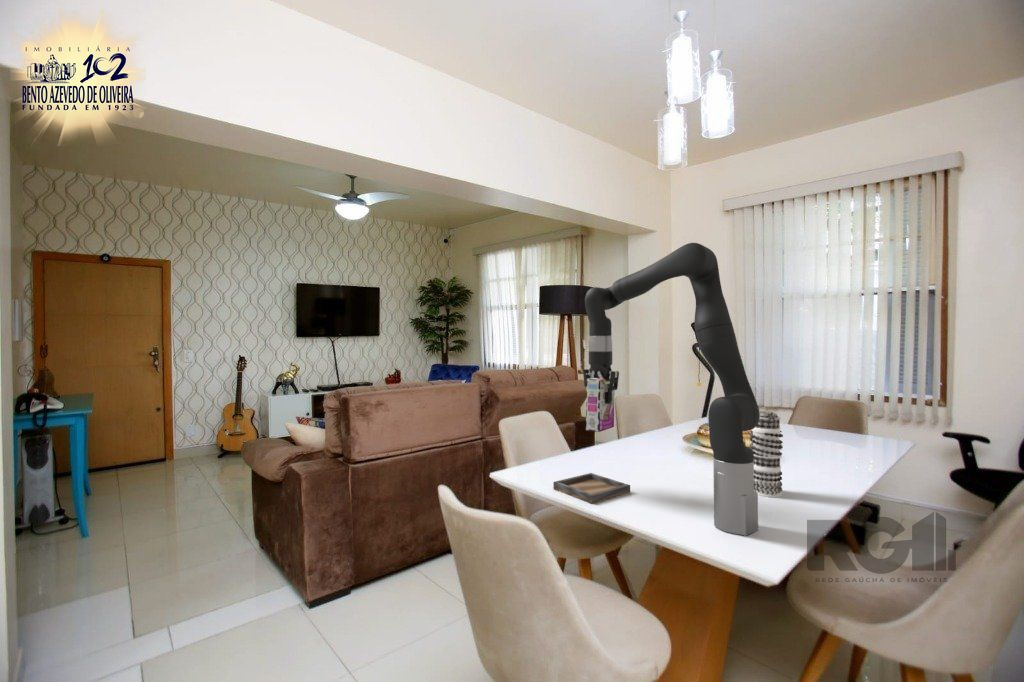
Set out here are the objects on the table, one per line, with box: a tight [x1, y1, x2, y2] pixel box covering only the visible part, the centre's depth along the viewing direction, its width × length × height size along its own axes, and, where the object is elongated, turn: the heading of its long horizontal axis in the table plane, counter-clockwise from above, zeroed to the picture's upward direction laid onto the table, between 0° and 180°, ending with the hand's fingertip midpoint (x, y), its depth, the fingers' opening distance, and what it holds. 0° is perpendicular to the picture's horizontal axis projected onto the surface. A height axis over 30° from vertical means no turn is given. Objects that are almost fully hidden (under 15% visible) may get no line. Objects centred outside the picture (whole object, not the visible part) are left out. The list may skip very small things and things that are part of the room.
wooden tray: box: [553, 472, 631, 505], centre depth 145 cm, size 17×17×2 cm
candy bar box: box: [585, 378, 616, 433], centre depth 147 cm, size 11×5×16 cm, turn 143°
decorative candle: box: [748, 410, 784, 498], centre depth 142 cm, size 9×9×25 cm
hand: (600, 402), depth 147 cm, fingers closed on candy bar box, 6 cm apart
